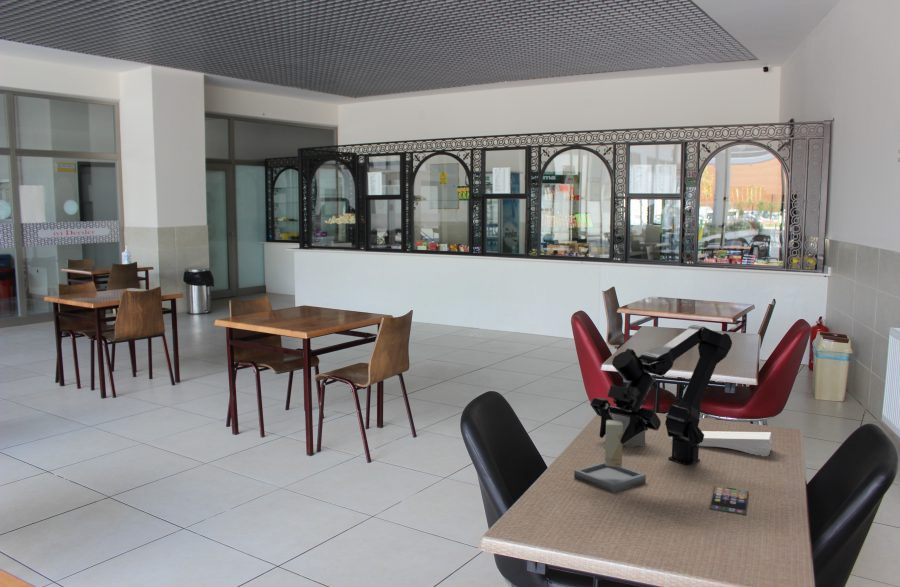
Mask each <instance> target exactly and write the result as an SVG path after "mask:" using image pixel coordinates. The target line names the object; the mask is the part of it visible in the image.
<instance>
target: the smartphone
mask: <svg viewBox="0 0 900 587" xmlns="http://www.w3.org/2000/svg"><path fill="white" fill-rule="evenodd" d="M748 500H749V490H743V489H737V488H733V487H732V488H731V487H724V486H717V485H715V486H714V488H713V491H712V495H711V501H710V504H709V510H712V511H716V510H717V511H718V512H722V511H723V513H730V514H734V513H735V515H740V514H741V515H740V516H747V510H748V509H747V508H748Z"/></svg>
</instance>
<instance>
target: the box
mask: <svg viewBox="0 0 900 587" xmlns="http://www.w3.org/2000/svg"><path fill="white" fill-rule="evenodd" d="M622 436H623V421H620V420H606V434H605V439H604V441H605V443H604V444H605V445H604V462H605V466H615V467H622V466H623V446H622V445H623V444H622V443H621V442H620V441H621V438H622Z"/></svg>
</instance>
